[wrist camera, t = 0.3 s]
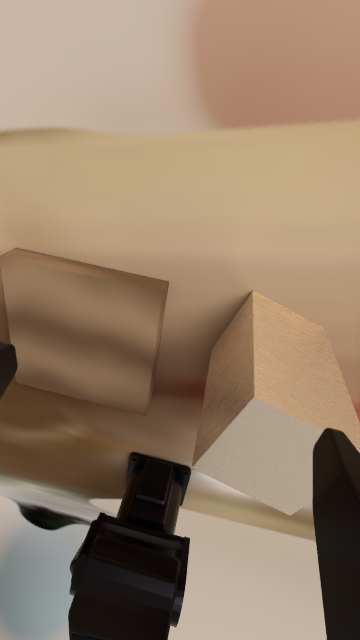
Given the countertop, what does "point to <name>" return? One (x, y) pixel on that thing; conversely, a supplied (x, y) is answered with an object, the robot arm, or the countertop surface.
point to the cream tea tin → (271, 404)
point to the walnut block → (83, 328)
